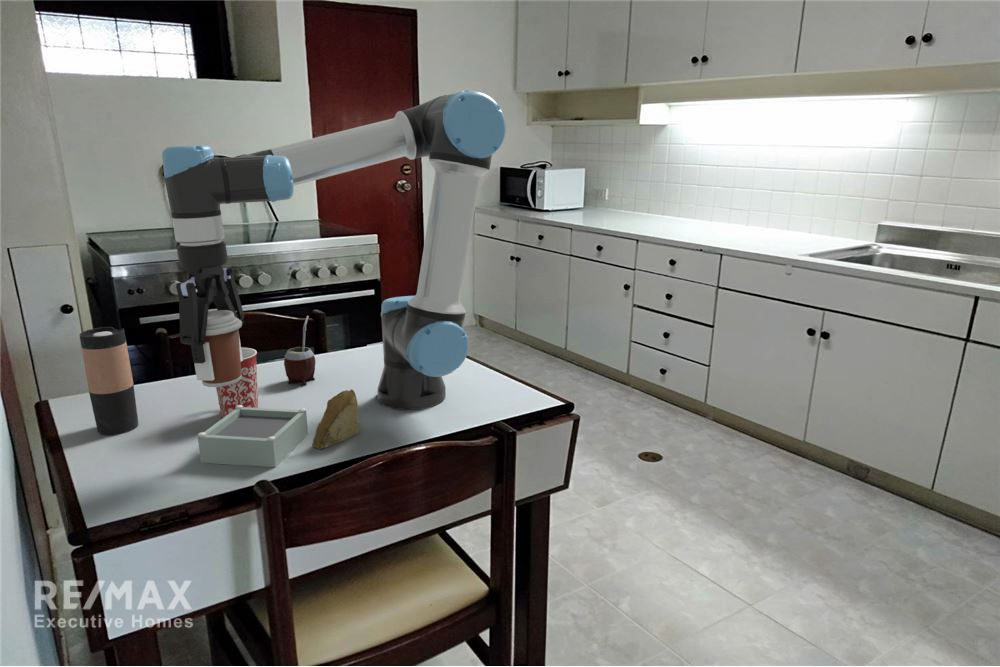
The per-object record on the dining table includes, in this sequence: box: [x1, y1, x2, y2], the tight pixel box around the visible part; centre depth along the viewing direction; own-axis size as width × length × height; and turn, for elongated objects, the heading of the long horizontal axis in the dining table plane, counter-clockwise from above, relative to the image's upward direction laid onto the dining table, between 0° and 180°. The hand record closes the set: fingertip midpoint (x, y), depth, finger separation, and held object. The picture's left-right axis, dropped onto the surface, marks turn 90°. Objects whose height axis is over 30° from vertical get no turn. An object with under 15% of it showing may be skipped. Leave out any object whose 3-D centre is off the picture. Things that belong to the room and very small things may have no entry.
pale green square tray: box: [197, 405, 309, 468], centre depth 122 cm, size 14×14×5 cm
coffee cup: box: [198, 309, 243, 388], centre depth 115 cm, size 9×9×12 cm
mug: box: [215, 347, 259, 419], centre depth 138 cm, size 13×9×14 cm
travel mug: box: [79, 326, 139, 436], centre depth 129 cm, size 8×8×20 cm
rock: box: [311, 389, 360, 450], centre depth 126 cm, size 11×9×10 cm
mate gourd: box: [283, 315, 316, 387], centre depth 156 cm, size 8×8×15 cm
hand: (221, 369), depth 116 cm, fingers closed on coffee cup, 9 cm apart
